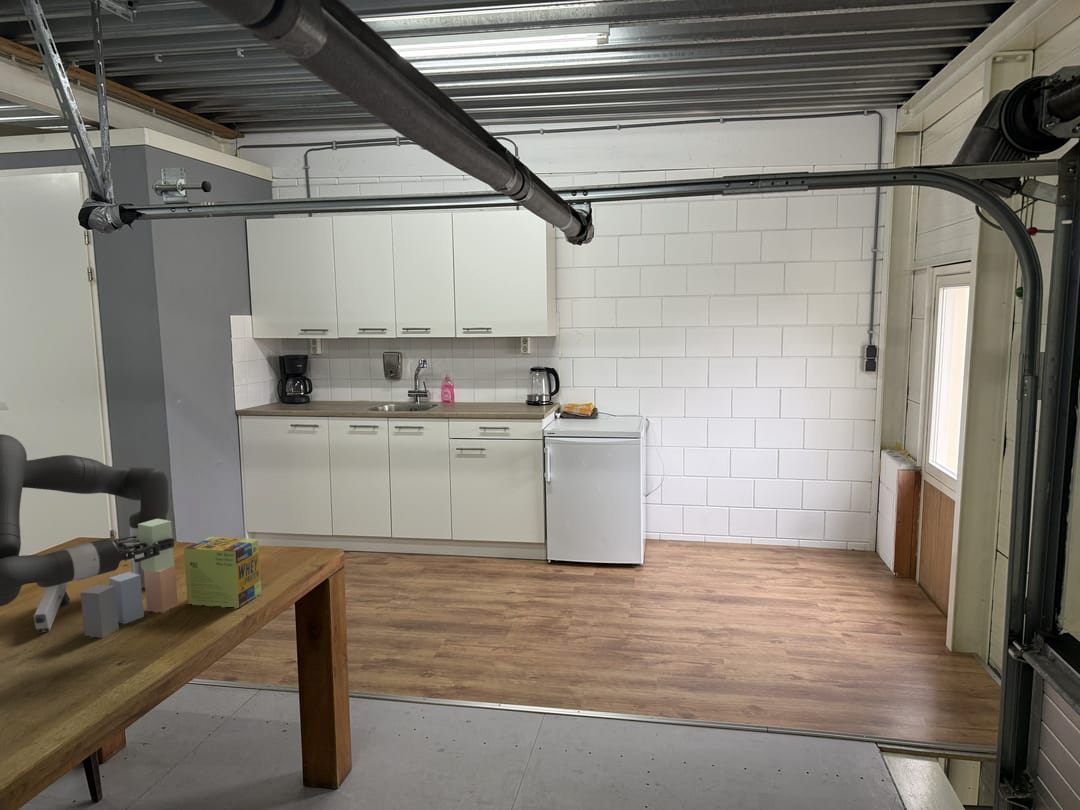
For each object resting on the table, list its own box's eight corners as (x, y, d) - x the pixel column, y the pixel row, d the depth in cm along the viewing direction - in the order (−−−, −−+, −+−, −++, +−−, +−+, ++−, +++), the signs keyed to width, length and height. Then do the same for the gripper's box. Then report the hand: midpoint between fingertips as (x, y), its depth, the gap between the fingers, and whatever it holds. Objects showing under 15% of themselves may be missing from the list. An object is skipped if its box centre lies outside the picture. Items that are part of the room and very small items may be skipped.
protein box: (239, 609, 185) (235, 551, 183) (187, 605, 188) (182, 548, 186) (262, 593, 195) (259, 538, 193) (212, 590, 198) (208, 535, 196)
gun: (73, 591, 195) (68, 560, 191) (51, 650, 173) (44, 615, 169) (62, 593, 194) (57, 561, 190) (39, 652, 172) (32, 617, 168)
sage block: (141, 569, 169) (137, 524, 168) (160, 562, 174) (157, 518, 172) (155, 572, 167) (151, 526, 166) (174, 565, 172) (171, 521, 170)
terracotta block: (147, 611, 184) (143, 569, 183) (162, 603, 189) (159, 563, 187) (163, 613, 183) (159, 571, 181) (177, 605, 187) (174, 565, 186)
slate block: (112, 620, 179) (108, 578, 177) (132, 613, 183) (129, 571, 181) (123, 624, 176) (120, 581, 175) (143, 617, 180) (140, 575, 179)
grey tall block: (84, 636, 169) (80, 592, 168) (101, 627, 174) (97, 584, 173) (102, 638, 168) (98, 593, 167) (119, 629, 173) (115, 585, 172)
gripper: (103, 549, 154) (181, 529, 167) (74, 537, 162) (150, 520, 176) (106, 582, 155) (183, 560, 168) (77, 569, 163) (153, 549, 177)
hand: (166, 540), depth 172 cm, fingers closed on sage block, 5 cm apart
